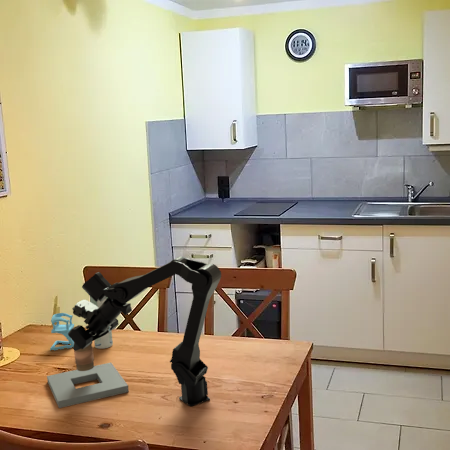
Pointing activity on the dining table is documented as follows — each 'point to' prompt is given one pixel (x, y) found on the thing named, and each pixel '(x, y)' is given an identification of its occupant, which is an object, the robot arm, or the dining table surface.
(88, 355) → the lidded jar
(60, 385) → the slotted shelf board
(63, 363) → the dining table surface
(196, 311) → the robot arm
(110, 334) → the spray can
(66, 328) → the chair
